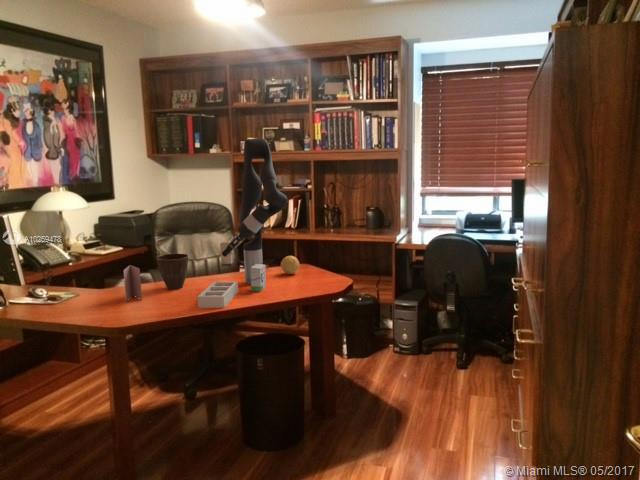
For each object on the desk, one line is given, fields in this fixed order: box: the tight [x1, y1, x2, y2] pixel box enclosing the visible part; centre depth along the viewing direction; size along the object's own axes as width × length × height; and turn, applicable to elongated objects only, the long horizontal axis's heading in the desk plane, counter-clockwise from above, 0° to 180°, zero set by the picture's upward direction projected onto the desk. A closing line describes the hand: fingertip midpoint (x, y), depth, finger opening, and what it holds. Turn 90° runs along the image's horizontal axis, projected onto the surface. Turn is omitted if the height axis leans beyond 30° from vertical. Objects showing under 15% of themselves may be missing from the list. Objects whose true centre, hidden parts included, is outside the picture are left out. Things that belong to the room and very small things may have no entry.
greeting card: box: [123, 264, 143, 302], centre depth 248 cm, size 11×7×15 cm, turn 5°
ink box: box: [250, 264, 267, 293], centre depth 259 cm, size 9×5×12 cm, turn 168°
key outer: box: [205, 294, 223, 296], centre depth 236 cm, size 6×8×1 cm
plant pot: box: [156, 253, 189, 291], centre depth 266 cm, size 15×15×16 cm
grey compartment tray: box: [197, 281, 239, 309], centre depth 244 cm, size 26×11×5 cm, turn 175°
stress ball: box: [280, 255, 300, 275], centre depth 289 cm, size 10×10×10 cm
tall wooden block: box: [219, 241, 234, 267], centre depth 235 cm, size 4×4×10 cm
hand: (224, 254), depth 235 cm, fingers closed on tall wooden block, 4 cm apart
